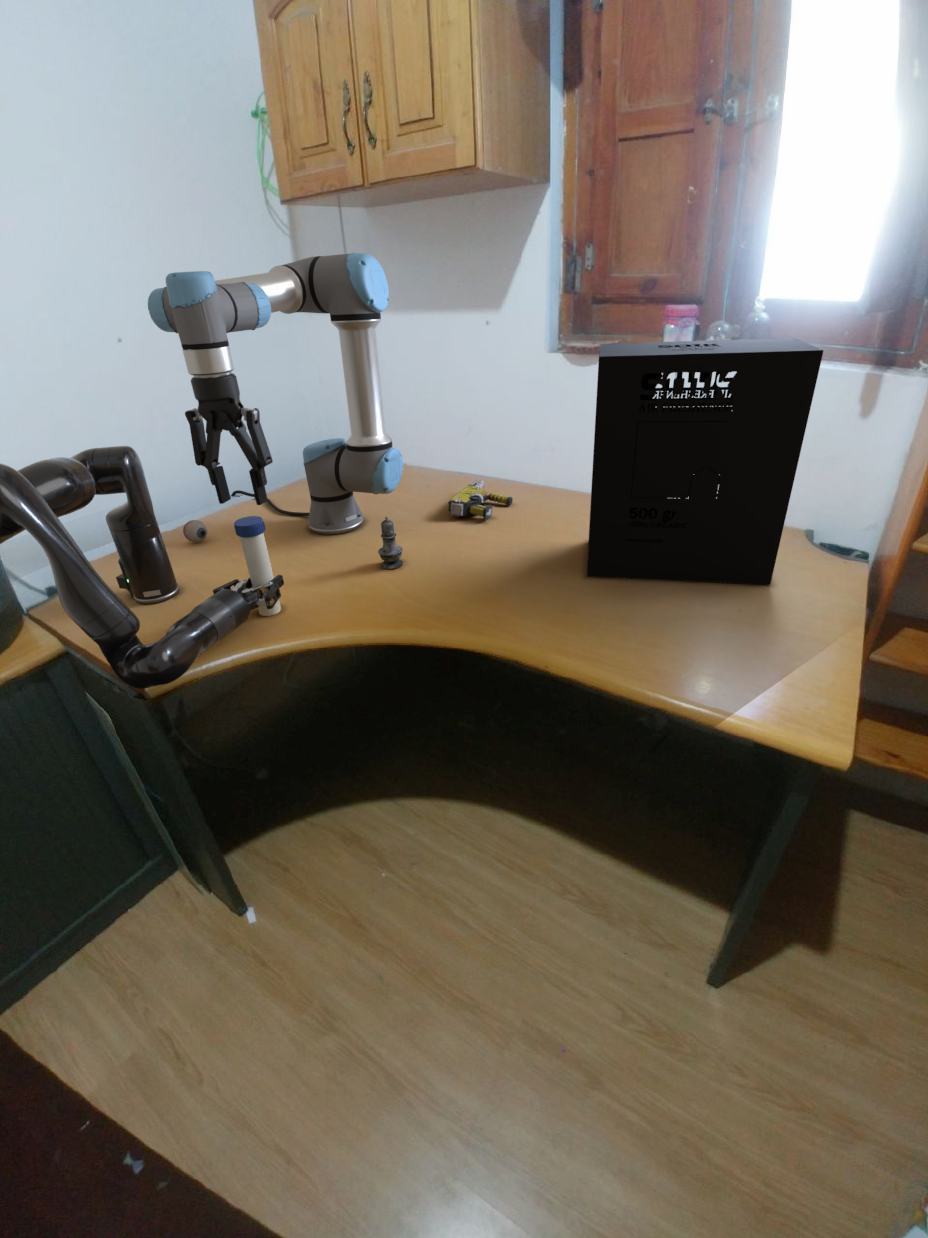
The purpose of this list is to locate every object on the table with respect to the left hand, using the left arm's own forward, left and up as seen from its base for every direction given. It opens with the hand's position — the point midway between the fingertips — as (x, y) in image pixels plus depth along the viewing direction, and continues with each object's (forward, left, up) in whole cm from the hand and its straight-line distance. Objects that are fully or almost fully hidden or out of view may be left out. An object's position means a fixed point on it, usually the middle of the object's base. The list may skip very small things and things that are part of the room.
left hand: (271, 577), depth 126 cm
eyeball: (-43, +26, -7) cm, 50 cm away
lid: (0, -3, +13) cm, 14 cm away
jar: (0, -3, -7) cm, 7 cm away
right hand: (0, -3, +17) cm, 18 cm away
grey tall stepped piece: (+16, +24, -7) cm, 30 cm away
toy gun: (+26, +67, -7) cm, 72 cm away
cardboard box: (+79, +41, -7) cm, 89 cm away
